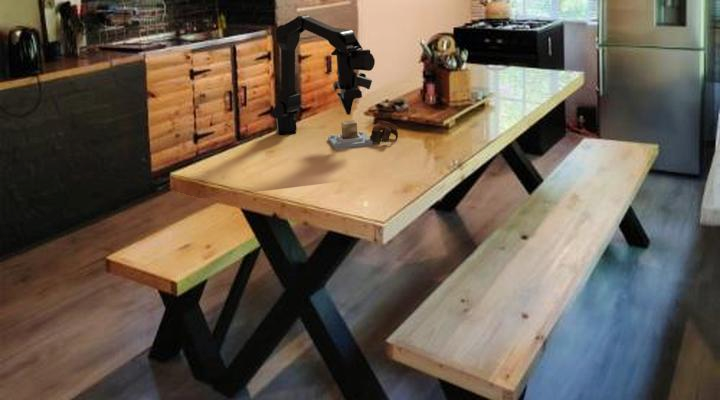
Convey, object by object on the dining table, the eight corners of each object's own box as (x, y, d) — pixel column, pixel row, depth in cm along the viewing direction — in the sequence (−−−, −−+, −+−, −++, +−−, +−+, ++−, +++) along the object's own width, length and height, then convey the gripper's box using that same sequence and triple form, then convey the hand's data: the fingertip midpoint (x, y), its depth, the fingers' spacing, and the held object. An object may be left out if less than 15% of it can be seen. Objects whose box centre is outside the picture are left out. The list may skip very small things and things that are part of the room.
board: (335, 149, 254) (335, 143, 253) (328, 140, 266) (327, 133, 265) (372, 145, 256) (372, 138, 256) (363, 136, 268) (363, 130, 268)
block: (345, 141, 258) (344, 124, 256) (342, 138, 262) (341, 121, 260) (357, 140, 259) (356, 123, 257) (354, 136, 263) (353, 120, 261)
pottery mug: (364, 141, 264) (372, 119, 264) (389, 150, 266) (397, 128, 266) (373, 140, 252) (381, 117, 252) (398, 150, 254) (407, 127, 255)
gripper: (375, 71, 245) (378, 117, 251) (362, 62, 263) (365, 106, 268) (342, 74, 243) (345, 121, 249) (331, 65, 260) (334, 109, 266)
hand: (348, 114), depth 258 cm, fingers closed
